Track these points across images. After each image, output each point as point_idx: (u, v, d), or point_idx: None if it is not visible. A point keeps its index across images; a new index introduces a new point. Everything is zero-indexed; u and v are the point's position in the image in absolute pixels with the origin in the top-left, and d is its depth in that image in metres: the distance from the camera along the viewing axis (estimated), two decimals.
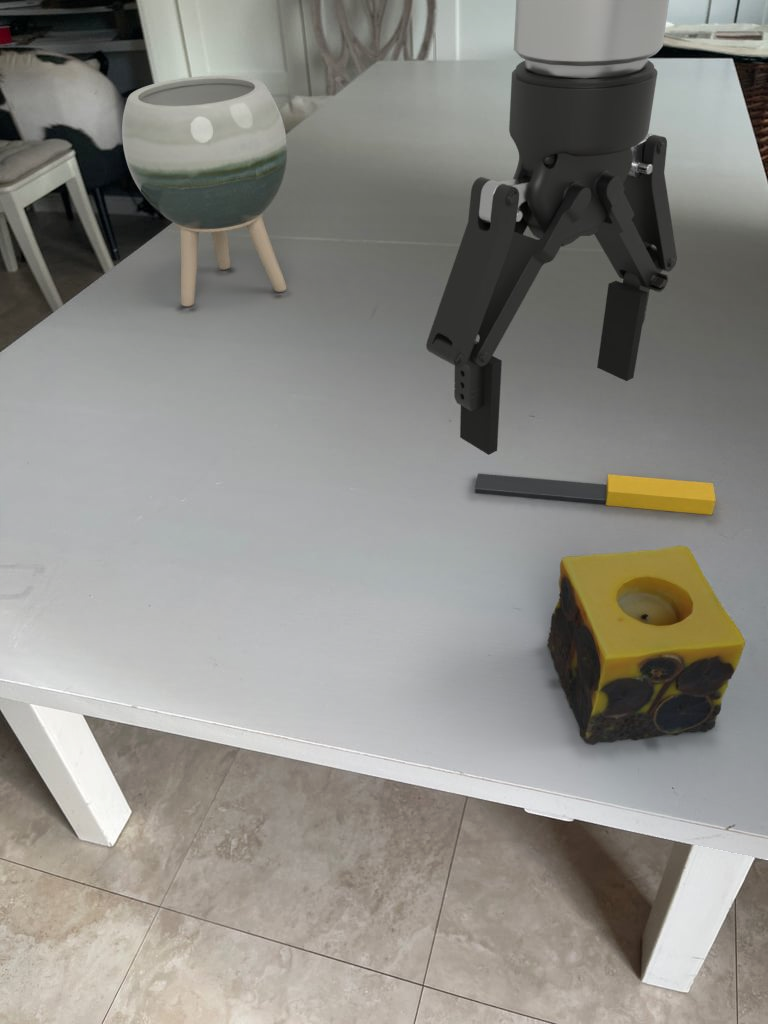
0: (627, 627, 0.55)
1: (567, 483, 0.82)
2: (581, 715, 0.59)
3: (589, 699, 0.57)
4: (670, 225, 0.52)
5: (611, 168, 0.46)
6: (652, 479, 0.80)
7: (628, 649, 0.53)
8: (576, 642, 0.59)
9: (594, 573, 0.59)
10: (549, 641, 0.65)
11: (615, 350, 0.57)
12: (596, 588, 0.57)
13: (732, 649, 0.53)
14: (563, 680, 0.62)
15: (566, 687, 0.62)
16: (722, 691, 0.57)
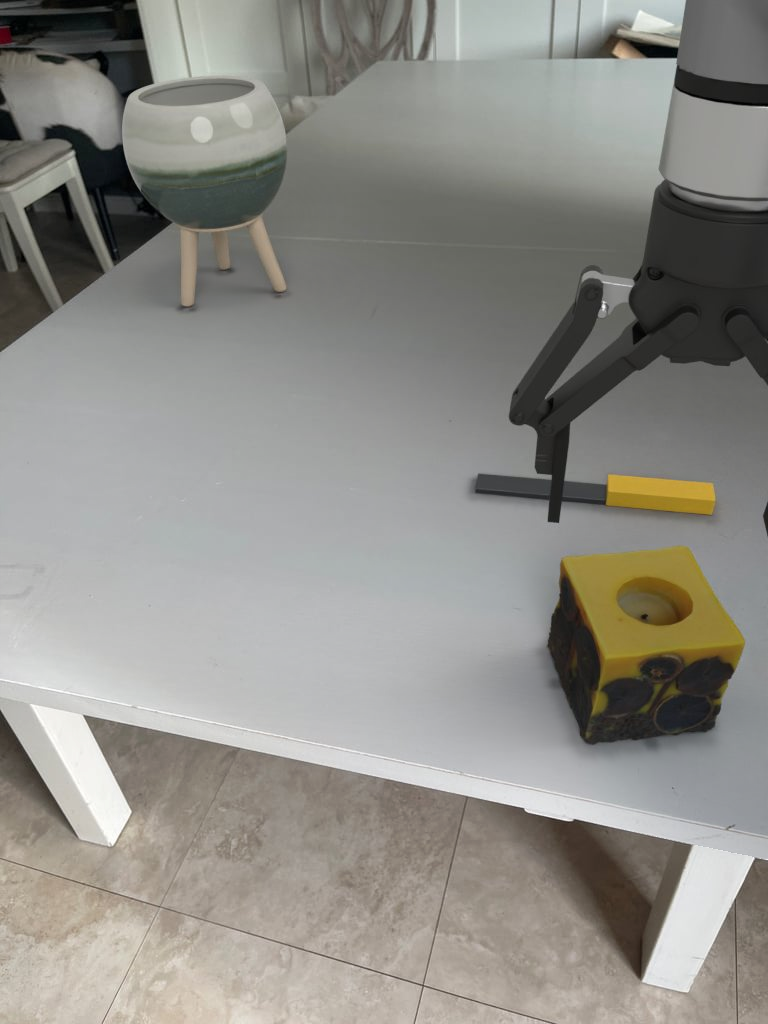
0: (627, 627, 0.55)
1: (567, 483, 0.82)
2: (581, 715, 0.59)
3: (589, 699, 0.57)
4: None
5: (753, 305, 0.41)
6: (652, 479, 0.80)
7: (627, 649, 0.53)
8: (576, 642, 0.59)
9: (594, 573, 0.59)
10: (549, 641, 0.65)
11: None
12: (596, 588, 0.57)
13: (732, 649, 0.53)
14: (563, 680, 0.62)
15: (566, 687, 0.62)
16: (722, 691, 0.57)
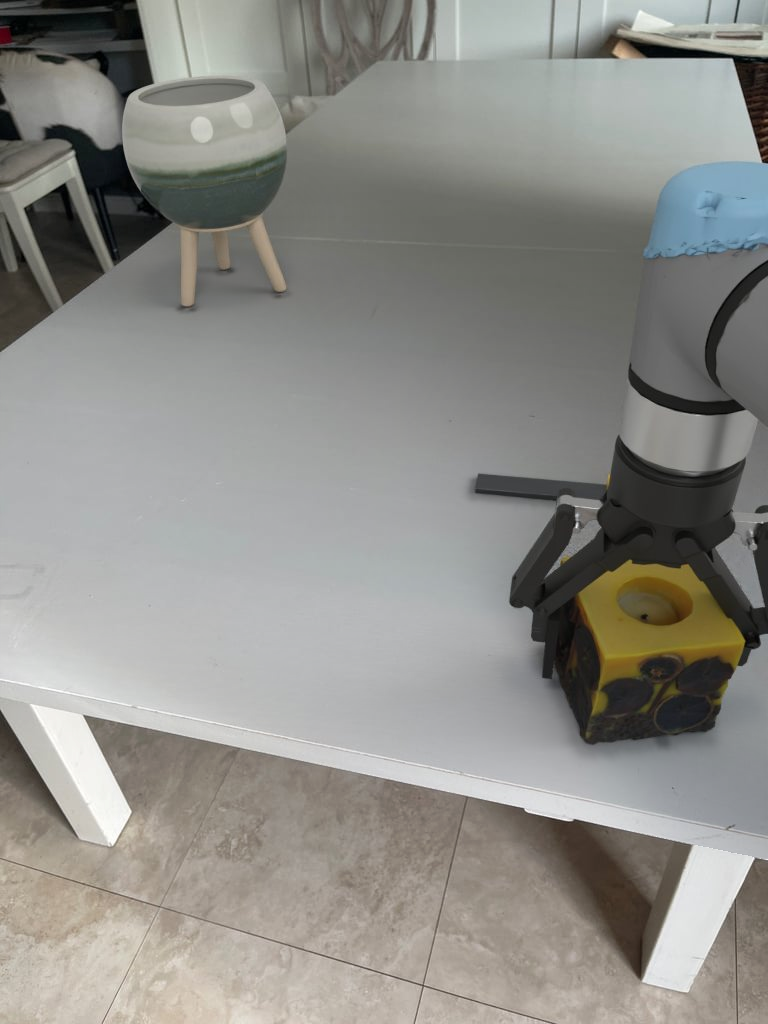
0: (627, 627, 0.55)
1: (567, 483, 0.82)
2: (581, 715, 0.59)
3: (589, 699, 0.57)
4: None
5: (698, 527, 0.51)
6: None
7: (627, 649, 0.53)
8: (576, 642, 0.59)
9: None
10: None
11: None
12: (596, 588, 0.57)
13: (732, 649, 0.53)
14: (563, 680, 0.62)
15: (566, 687, 0.62)
16: (722, 691, 0.57)
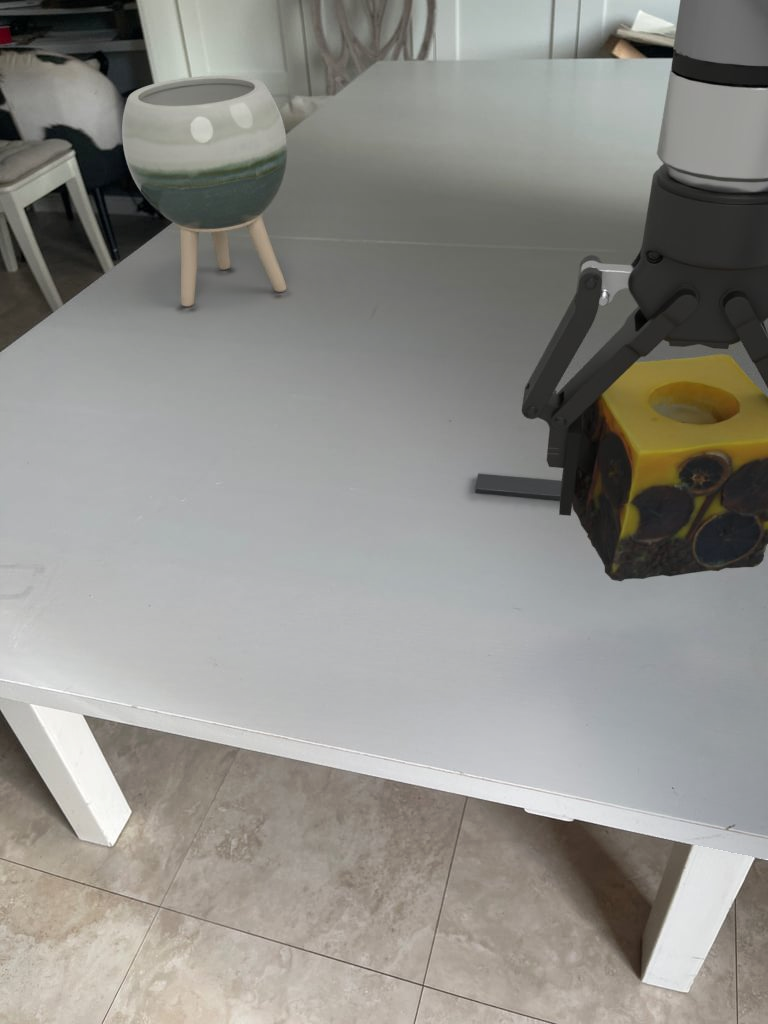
0: (663, 425, 0.46)
1: None
2: (606, 549, 0.51)
3: (617, 520, 0.48)
4: None
5: (752, 285, 0.42)
6: None
7: (665, 445, 0.44)
8: (600, 460, 0.50)
9: (621, 380, 0.50)
10: None
11: None
12: (624, 393, 0.49)
13: None
14: (583, 517, 0.54)
15: (587, 524, 0.53)
16: None
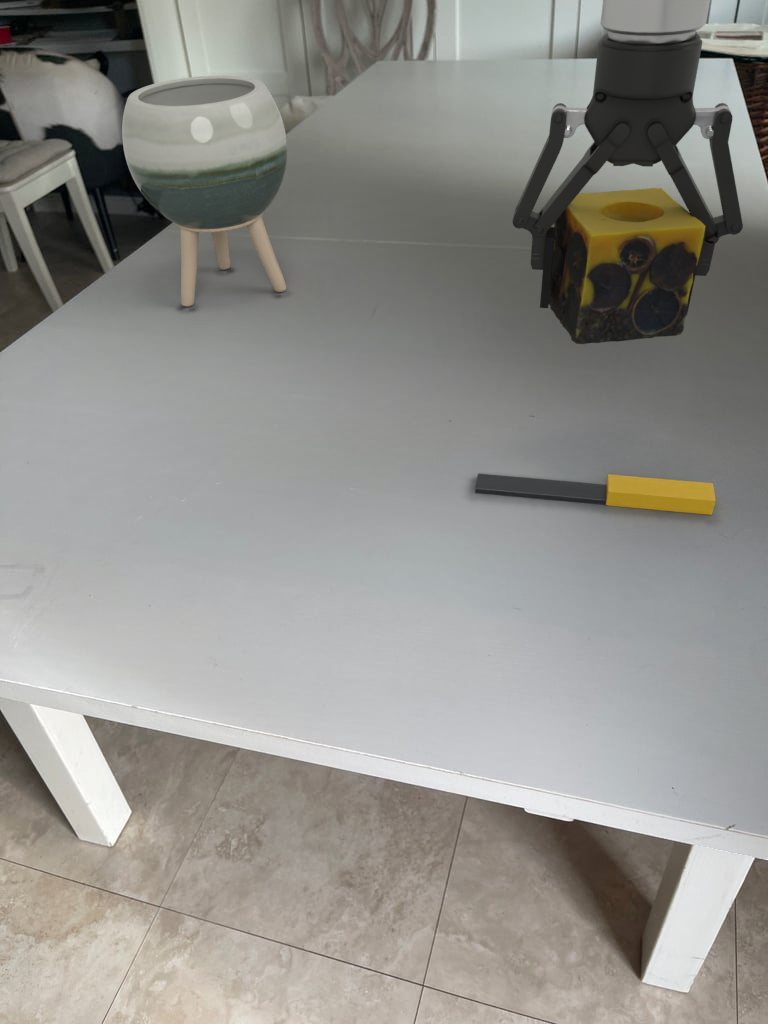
0: (609, 222, 0.66)
1: (567, 483, 0.82)
2: (572, 324, 0.71)
3: (578, 295, 0.69)
4: (734, 192, 0.65)
5: (665, 117, 0.63)
6: (652, 479, 0.80)
7: (609, 231, 0.65)
8: (568, 258, 0.70)
9: (583, 201, 0.70)
10: None
11: None
12: (584, 207, 0.69)
13: (695, 233, 0.65)
14: (557, 309, 0.74)
15: (560, 313, 0.74)
16: (688, 287, 0.68)
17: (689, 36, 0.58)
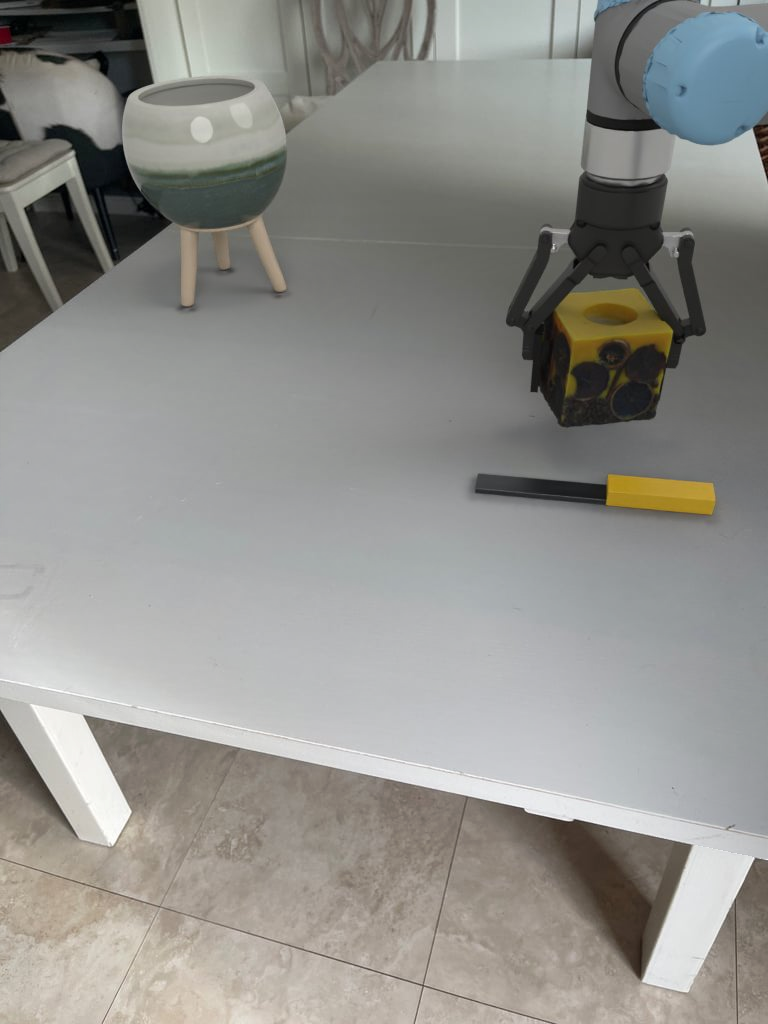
0: (589, 326, 0.76)
1: (567, 483, 0.82)
2: (558, 409, 0.81)
3: (563, 386, 0.78)
4: (698, 302, 0.75)
5: (637, 240, 0.72)
6: (652, 479, 0.80)
7: (589, 335, 0.75)
8: (554, 352, 0.80)
9: (567, 302, 0.80)
10: None
11: None
12: (568, 309, 0.79)
13: (664, 337, 0.75)
14: (546, 393, 0.84)
15: (548, 397, 0.84)
16: (659, 380, 0.78)
17: (656, 179, 0.68)
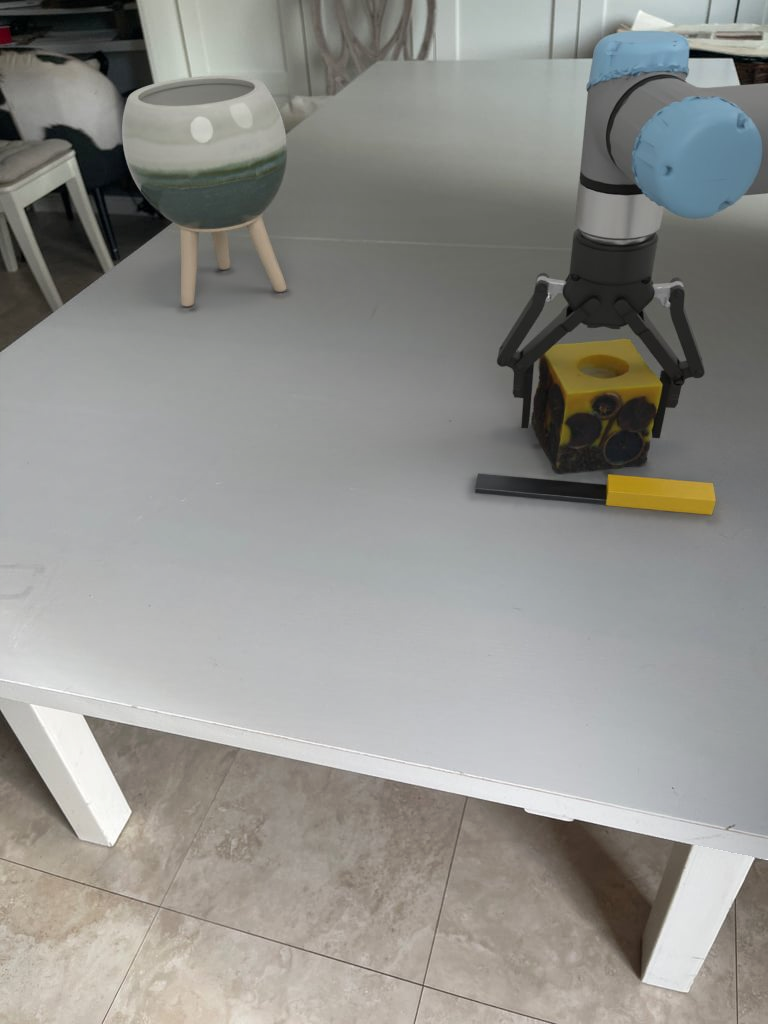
0: (583, 378, 0.80)
1: (567, 483, 0.82)
2: (553, 455, 0.85)
3: (558, 435, 0.82)
4: (694, 347, 0.77)
5: (629, 294, 0.76)
6: (652, 479, 0.80)
7: (582, 388, 0.78)
8: (549, 401, 0.84)
9: (562, 353, 0.84)
10: (532, 419, 0.91)
11: None
12: (563, 360, 0.83)
13: (653, 390, 0.79)
14: (541, 438, 0.88)
15: (543, 442, 0.87)
16: (650, 429, 0.82)
17: (646, 237, 0.71)
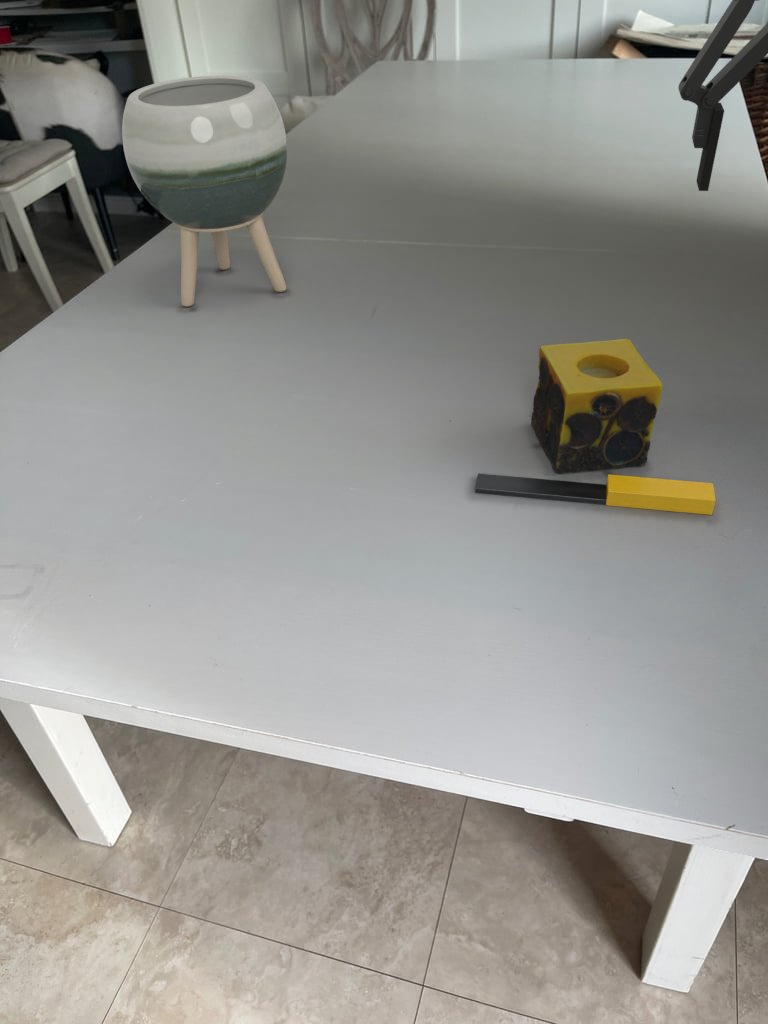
0: (583, 378, 0.80)
1: (567, 483, 0.82)
2: (553, 455, 0.85)
3: (558, 435, 0.82)
4: None
5: None
6: (652, 479, 0.80)
7: (583, 388, 0.78)
8: (549, 401, 0.84)
9: (562, 353, 0.84)
10: (532, 419, 0.91)
11: None
12: (563, 360, 0.83)
13: (653, 390, 0.79)
14: (541, 438, 0.88)
15: (543, 442, 0.87)
16: (650, 429, 0.82)
17: None
